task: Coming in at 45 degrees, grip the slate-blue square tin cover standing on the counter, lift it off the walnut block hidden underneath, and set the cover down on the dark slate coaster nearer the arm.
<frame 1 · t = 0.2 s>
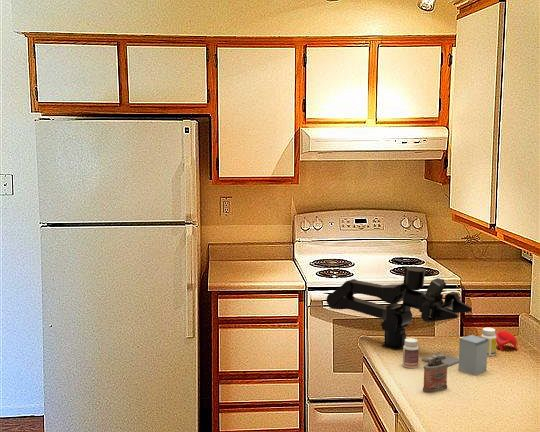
hand: (464, 313, 219), 17 cm above the worktop, tool horizontal, fingers open, 9 cm apart
cover: (472, 370, 216), on the worktop
red plastic curved piece: (505, 349, 236), on the worktop
block: (472, 364, 216), in the cover
coaster: (441, 360, 224), on the worktop
supplement bottle: (488, 354, 230), on the worktop
lighter: (434, 389, 201), on the worktop
pill bottle: (410, 366, 220), on the worktop
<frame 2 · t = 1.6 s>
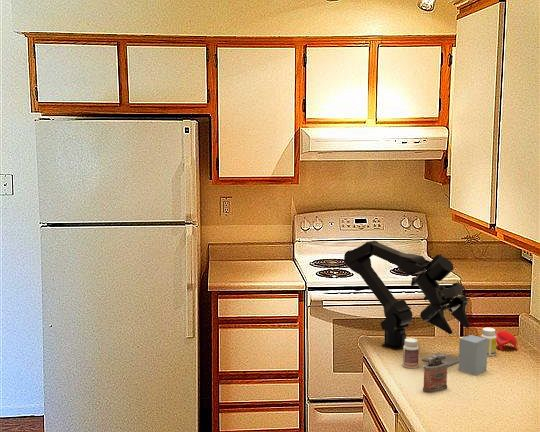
hand: (460, 330, 218), 12 cm above the worktop, tool tilted 45°, fingers open, 9 cm apart
nothing on the worktop moved.
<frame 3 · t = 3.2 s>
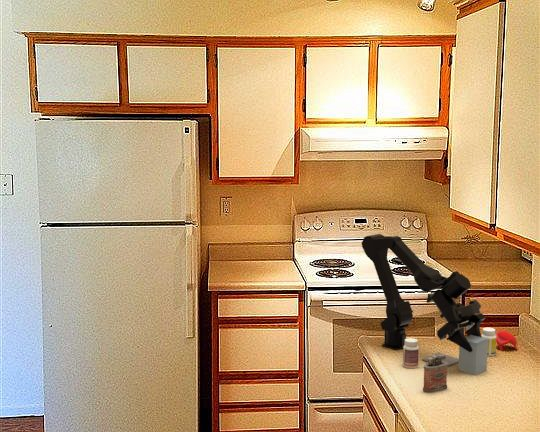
hand: (477, 349, 214), 7 cm above the worktop, tool tilted 45°, fingers closed on cover, 6 cm apart
cover: (472, 370, 216), on the worktop, touching gripper
everything else where it was.
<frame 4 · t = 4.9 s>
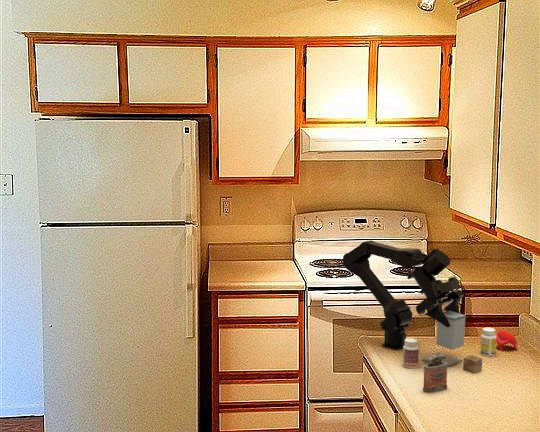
hand: (454, 324, 219), 13 cm above the worktop, tool tilted 45°, fingers closed on cover, 6 cm apart
cover: (449, 345, 221), point 6 cm above the worktop, touching gripper
everything else where it was.
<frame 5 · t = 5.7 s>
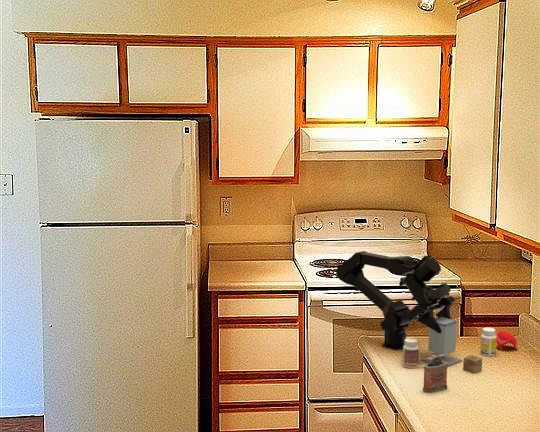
hand: (446, 330, 221), 10 cm above the worktop, tool tilted 45°, fingers closed on cover, 6 cm apart
cover: (441, 350, 224), point 3 cm above the worktop, touching gripper
everything else where it was.
when the fingers open (9 cm above the worktop, at t = 6.4 s): cover drops 1 cm, resting on coaster.
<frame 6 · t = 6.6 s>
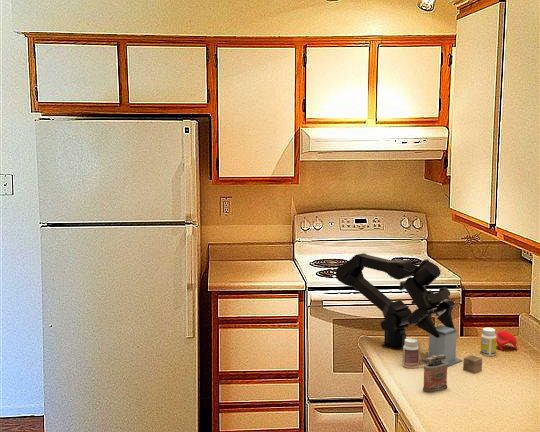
hand: (446, 334, 222), 9 cm above the worktop, tool tilted 45°, fingers open, 8 cm apart
cover: (441, 359, 224), resting on coaster
everything else where it was.
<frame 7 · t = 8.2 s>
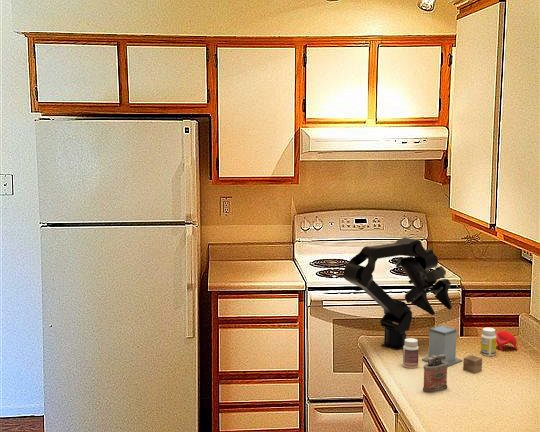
hand: (442, 311, 231), 14 cm above the worktop, tool tilted 45°, fingers open, 9 cm apart
nothing on the worktop moved.
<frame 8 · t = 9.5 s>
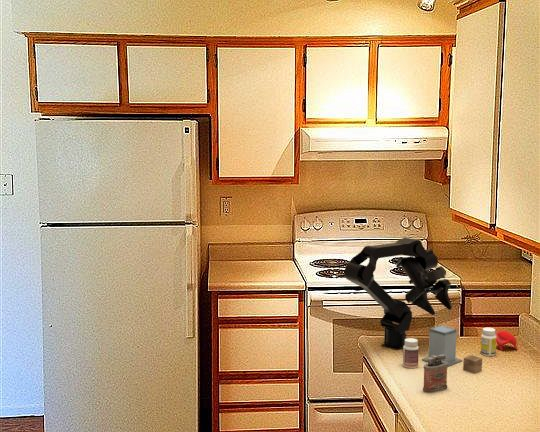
hand: (442, 311, 231), 14 cm above the worktop, tool tilted 45°, fingers open, 9 cm apart
nothing on the worktop moved.
at the end: cover inside the target area on the coaster (0.0 cm from its centre), point 0.5 cm above the coaster's base; cover tilted 0°; cover moved 11.0 cm from its start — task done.
